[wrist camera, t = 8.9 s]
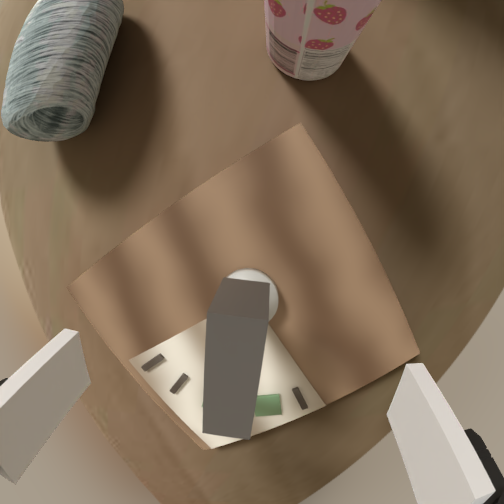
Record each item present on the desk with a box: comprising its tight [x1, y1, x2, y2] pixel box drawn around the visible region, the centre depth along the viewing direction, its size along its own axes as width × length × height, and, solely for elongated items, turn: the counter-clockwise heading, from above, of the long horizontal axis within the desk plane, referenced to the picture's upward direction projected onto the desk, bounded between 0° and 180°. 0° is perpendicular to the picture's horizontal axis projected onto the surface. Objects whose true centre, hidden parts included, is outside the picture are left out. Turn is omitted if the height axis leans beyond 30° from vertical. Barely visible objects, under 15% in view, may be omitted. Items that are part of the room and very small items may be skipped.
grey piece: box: [202, 268, 278, 440], centre depth 17 cm, size 11×4×10 cm, turn 174°
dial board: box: [67, 123, 420, 450], centre depth 23 cm, size 22×20×2 cm
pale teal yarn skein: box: [1, 0, 124, 141], centre depth 16 cm, size 14×10×10 cm
